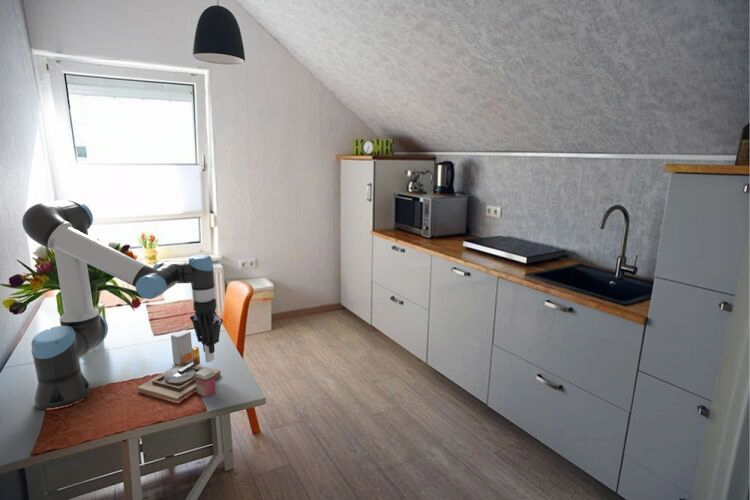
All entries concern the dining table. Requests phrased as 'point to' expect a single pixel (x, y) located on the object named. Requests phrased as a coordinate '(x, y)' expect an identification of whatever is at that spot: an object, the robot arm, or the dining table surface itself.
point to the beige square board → (172, 391)
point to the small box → (205, 382)
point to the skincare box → (181, 347)
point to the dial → (183, 371)
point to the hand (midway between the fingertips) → (210, 360)
